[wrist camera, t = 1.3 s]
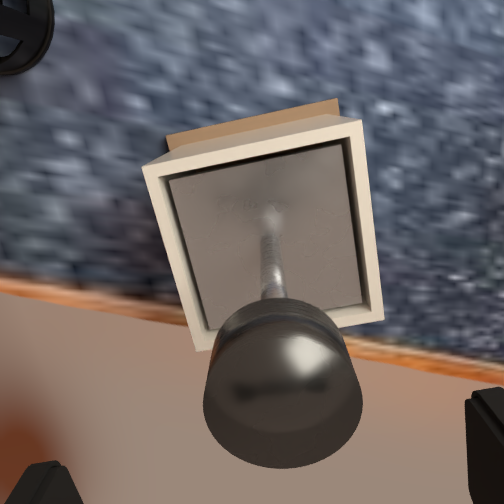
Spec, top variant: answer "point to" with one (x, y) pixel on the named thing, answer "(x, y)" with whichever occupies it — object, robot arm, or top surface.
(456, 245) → the top surface
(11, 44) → the top surface
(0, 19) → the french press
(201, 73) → the top surface
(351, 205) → the white open box
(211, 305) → the plunger
